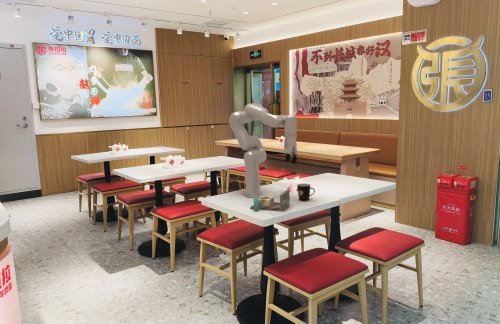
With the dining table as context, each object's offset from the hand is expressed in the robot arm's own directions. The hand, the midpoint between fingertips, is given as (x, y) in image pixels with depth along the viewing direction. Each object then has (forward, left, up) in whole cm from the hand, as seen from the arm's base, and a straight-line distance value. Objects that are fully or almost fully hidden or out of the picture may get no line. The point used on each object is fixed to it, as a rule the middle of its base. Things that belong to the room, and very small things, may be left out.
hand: (290, 162), depth 239 cm
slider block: (-12, -16, -24) cm, 32 cm away
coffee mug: (+8, +6, -26) cm, 27 cm away
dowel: (-14, -25, -26) cm, 39 cm away
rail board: (-9, -16, -26) cm, 32 cm away
